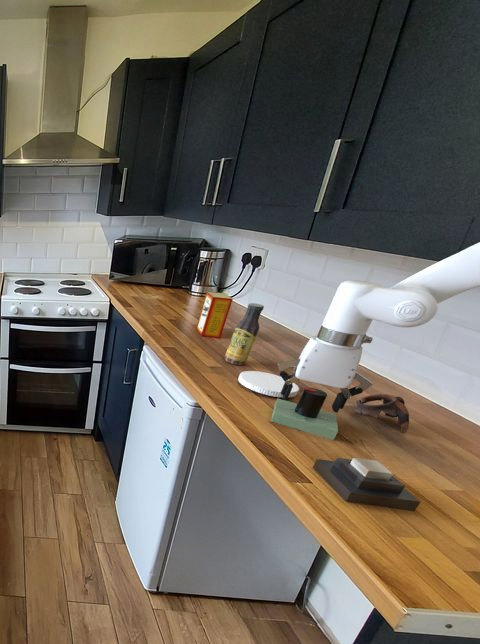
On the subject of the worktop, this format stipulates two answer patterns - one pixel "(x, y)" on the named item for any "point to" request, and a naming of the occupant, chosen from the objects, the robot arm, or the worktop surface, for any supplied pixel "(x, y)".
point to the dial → (310, 402)
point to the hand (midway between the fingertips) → (308, 403)
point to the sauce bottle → (244, 336)
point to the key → (371, 469)
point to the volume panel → (305, 420)
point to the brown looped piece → (385, 408)
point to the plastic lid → (265, 383)
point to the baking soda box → (214, 314)
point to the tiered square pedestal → (364, 486)
